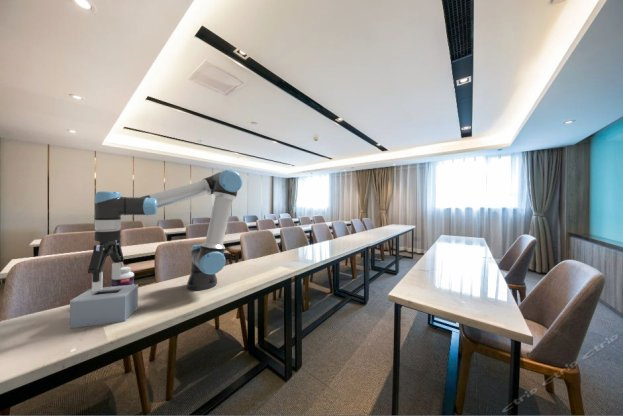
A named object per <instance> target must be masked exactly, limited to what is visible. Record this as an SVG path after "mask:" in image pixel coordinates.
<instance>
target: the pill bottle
mask: <svg viewBox="0 0 623 416" xmlns="http://www.w3.org/2000/svg"><path fill="white" fill-rule="evenodd" d="M131 270H132V267H130V266H124V267H123V266H121V278H115V279H112V277H111V278H110V279H111V281H110V283H111V284H110V285H111V286H110V287H114V286H125V285H135V273H134V272H133V271H131Z"/></svg>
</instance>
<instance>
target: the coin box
mask: <svg viewBox="0 0 623 416" xmlns="http://www.w3.org/2000/svg"><path fill="white" fill-rule="evenodd" d="M138 307H139V284H137V283H136V284H134V285H125V286H114V287H111V286H104V287H103V289H102V290H96V291H92V287H91V288H89V289H88V290H86V291H84V292H83V293H81V294H79V295H78V296H75V297H74V298H72V299H70V300H69V329H77V328H83V327H84V328H85V327H89V326H90V327H91V326H99V325H105V324H106V325H107V324H113V323H122V322H126V321H127V319H128V318H129V317H130V316H131V315H132V314H133V313H134V312H135V311H136V309H138Z"/></svg>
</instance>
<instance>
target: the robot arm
mask: <svg viewBox="0 0 623 416" xmlns="http://www.w3.org/2000/svg"><path fill="white" fill-rule="evenodd" d="M242 186H243V178H242V176H241V175H240V174H239V172H238V171H236V170H233V169H224V170H222V171H220V172H216V173H214V174H213V175H211V176H208V177H205V178H202V179H201V181H196V182H192V183H188V184H186V185H181V186H177V187H172V188H169V189H165V190H163V191H158V192H155V193H151V194H147V195H144V196H140V197H139V196H138V197H136V196H135V197H131V196H130V197H129V196H128V197H127V196H122V193H121V192H120V191H107V190H106V191H105V190H100V191H97V192H96V193H95V199H94V222H93V225H94V230H95V232H94V241H95V242H99V244H97V245H93V249H92V250H93V251H92V255H91V258H90V262H89V265H88V268H87V273H88V274H91V288H92V291H96V290H102V289H103V286H104V285H103V282H104V281H103V280H104V277H103V275H104V272H103V271H102V270H103V267H104V265H105V264H106V261H107V258H108V257H110V258H111V260H112V262H113V263H111V278H112V279H115V278H121V268H122V265H121V264H122V263H124V261H125V260H124V254H123V251H122V250H123V249H122V247H121V236H122V235H121V232H122V231H121V228H122V219H121V218H122V217H121V216H153V215H156V214H157V212H158V209H161V208H165V207H168V206H171V205H175V204H177V203H181V202H185V201H188V200H192V199H194V198H198V197H201V196H206V195H208V196H211V195H214V196H215V198H214V202H213V206H212V210H211V216H210V219H209V220H210V221H209V224H208V228H207V231H206V232H207V233H206V236H205V237H206V238H205V241H204V242H203V243H202V244H194V245H192V246H191V249H190V274H189V277H188V280H187V282H186V289H188V290H191V291H204V290H208V289H210V288H214V287H216V286H217V285H218V278H217V276H216V274H218V273H219V272H220V271H222V270H223V269H224V267H225V265H226V257H225V251H226V247H225V245H224V241H225V237H226V233H227V229H228V223H229V219H230V214H231V209H232V204H233V200H235V199H236V198H237V195H238V191H240V190H241V188H242ZM216 284H217V285H216Z"/></svg>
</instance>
